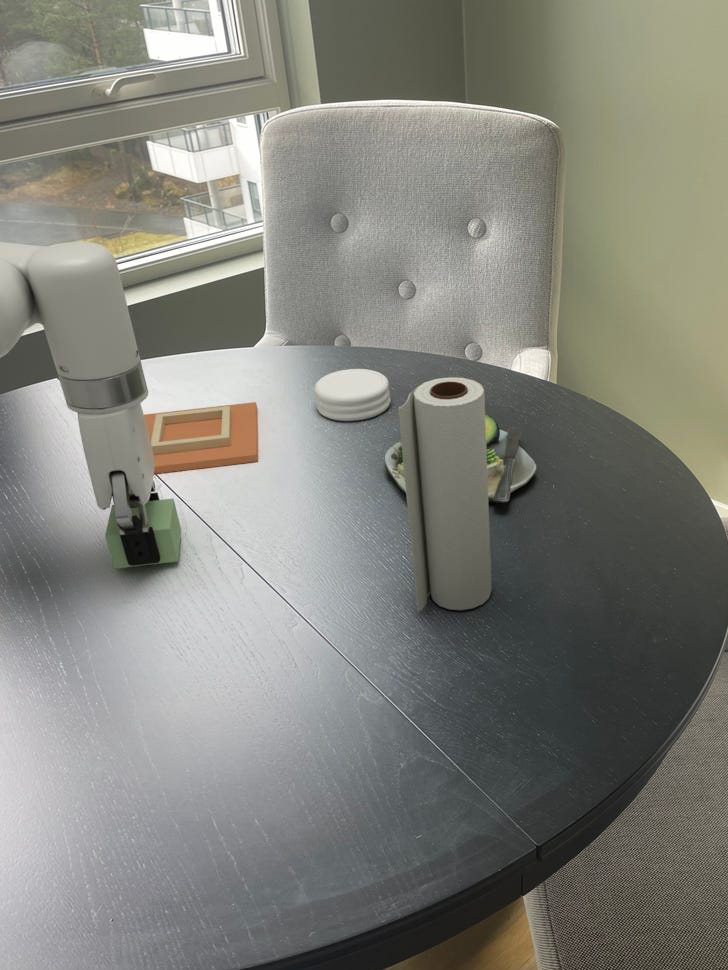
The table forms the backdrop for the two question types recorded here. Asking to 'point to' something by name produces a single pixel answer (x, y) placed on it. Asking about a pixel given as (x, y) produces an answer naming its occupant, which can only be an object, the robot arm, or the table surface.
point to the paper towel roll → (447, 492)
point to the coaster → (352, 394)
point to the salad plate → (503, 462)
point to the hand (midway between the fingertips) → (147, 543)
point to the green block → (164, 528)
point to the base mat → (203, 437)
